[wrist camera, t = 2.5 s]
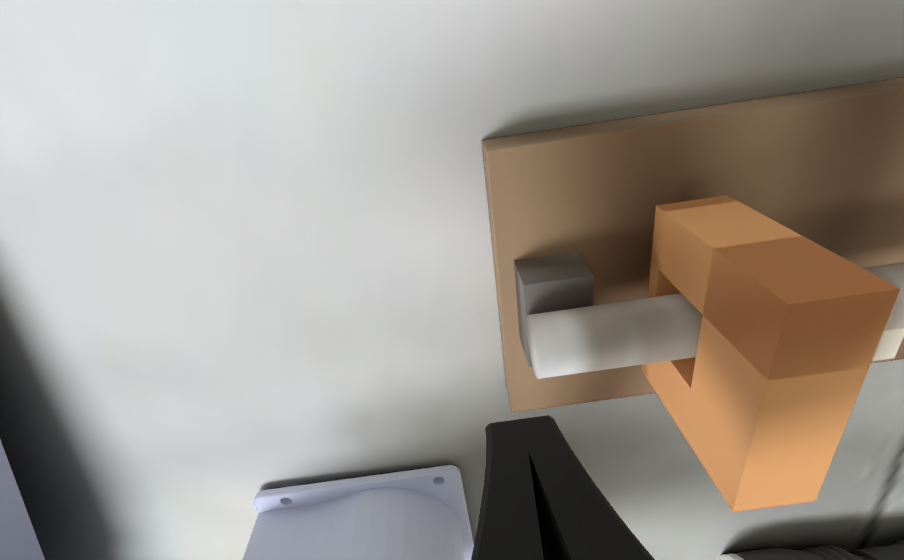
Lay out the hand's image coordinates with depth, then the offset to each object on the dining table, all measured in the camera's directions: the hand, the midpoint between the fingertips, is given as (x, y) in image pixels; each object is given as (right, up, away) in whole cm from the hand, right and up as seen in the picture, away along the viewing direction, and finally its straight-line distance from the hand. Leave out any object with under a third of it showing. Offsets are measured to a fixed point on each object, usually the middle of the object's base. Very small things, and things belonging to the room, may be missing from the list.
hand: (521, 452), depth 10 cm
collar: (+6, +3, +4) cm, 8 cm away
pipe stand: (+10, +5, +7) cm, 13 cm away
